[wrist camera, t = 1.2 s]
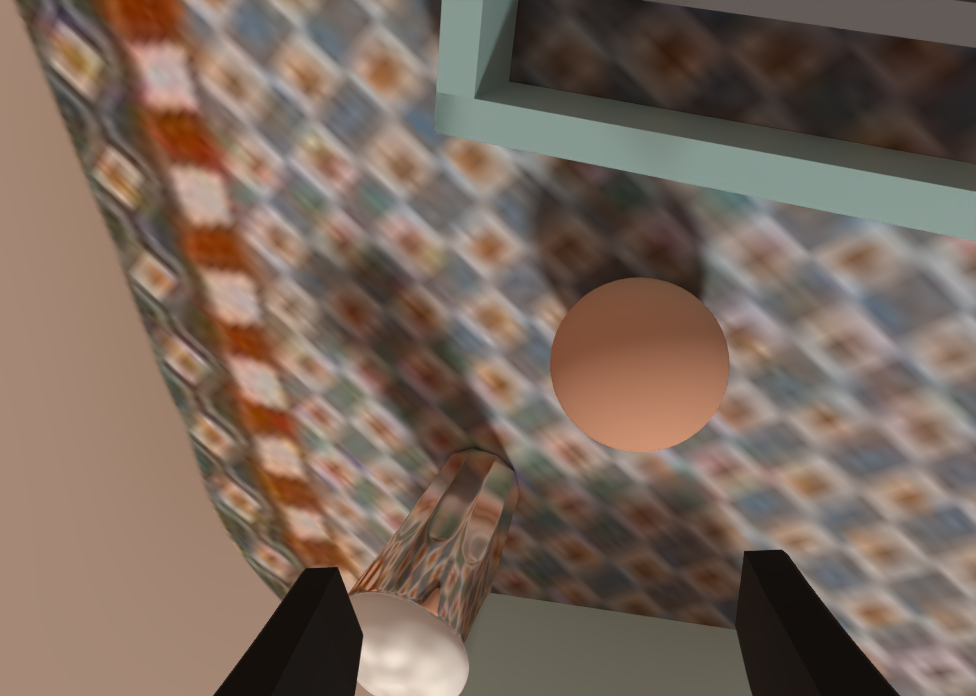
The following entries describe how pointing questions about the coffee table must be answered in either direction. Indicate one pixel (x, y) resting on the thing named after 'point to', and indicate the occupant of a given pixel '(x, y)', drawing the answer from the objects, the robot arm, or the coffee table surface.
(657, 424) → the ball
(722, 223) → the coffee table surface
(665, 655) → the right angle wall
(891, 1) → the tray
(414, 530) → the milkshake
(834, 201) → the divider wall
